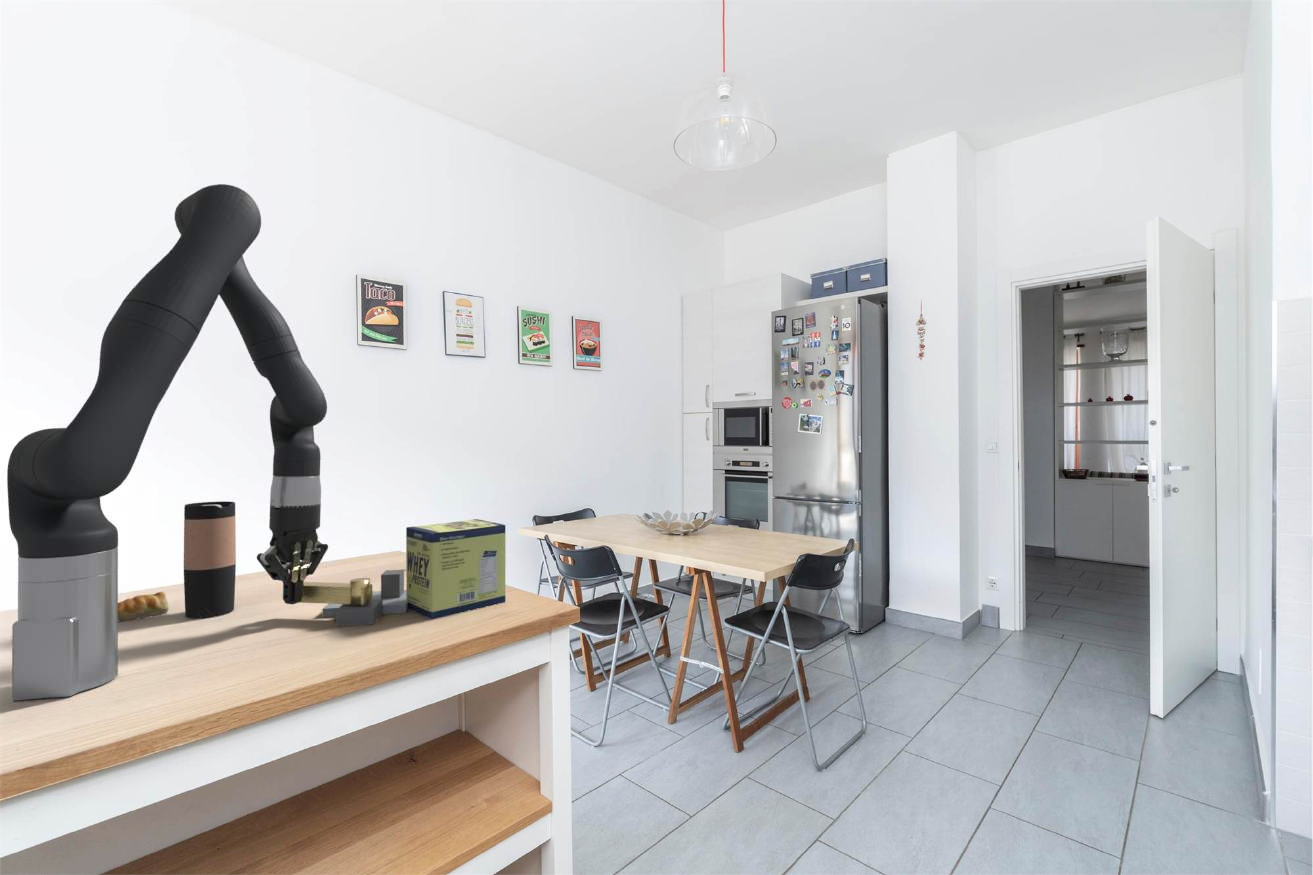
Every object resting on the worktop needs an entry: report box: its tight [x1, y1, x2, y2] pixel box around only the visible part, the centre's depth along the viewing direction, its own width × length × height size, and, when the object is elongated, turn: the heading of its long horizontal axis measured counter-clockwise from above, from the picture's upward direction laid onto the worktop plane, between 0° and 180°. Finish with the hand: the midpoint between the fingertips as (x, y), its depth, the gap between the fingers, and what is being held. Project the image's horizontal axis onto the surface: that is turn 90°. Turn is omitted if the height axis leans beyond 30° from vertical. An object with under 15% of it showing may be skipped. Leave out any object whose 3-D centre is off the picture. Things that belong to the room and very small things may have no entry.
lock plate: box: [322, 569, 409, 627], centre depth 110 cm, size 17×14×6 cm
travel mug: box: [183, 500, 237, 620], centre depth 108 cm, size 8×8×20 cm
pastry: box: [118, 591, 170, 621], centre depth 107 cm, size 9×7×4 cm
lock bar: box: [299, 577, 373, 605], centre depth 105 cm, size 15×3×5 cm, turn 83°
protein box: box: [405, 518, 507, 620], centre depth 114 cm, size 10×16×16 cm
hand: (292, 602), depth 102 cm, fingers closed
